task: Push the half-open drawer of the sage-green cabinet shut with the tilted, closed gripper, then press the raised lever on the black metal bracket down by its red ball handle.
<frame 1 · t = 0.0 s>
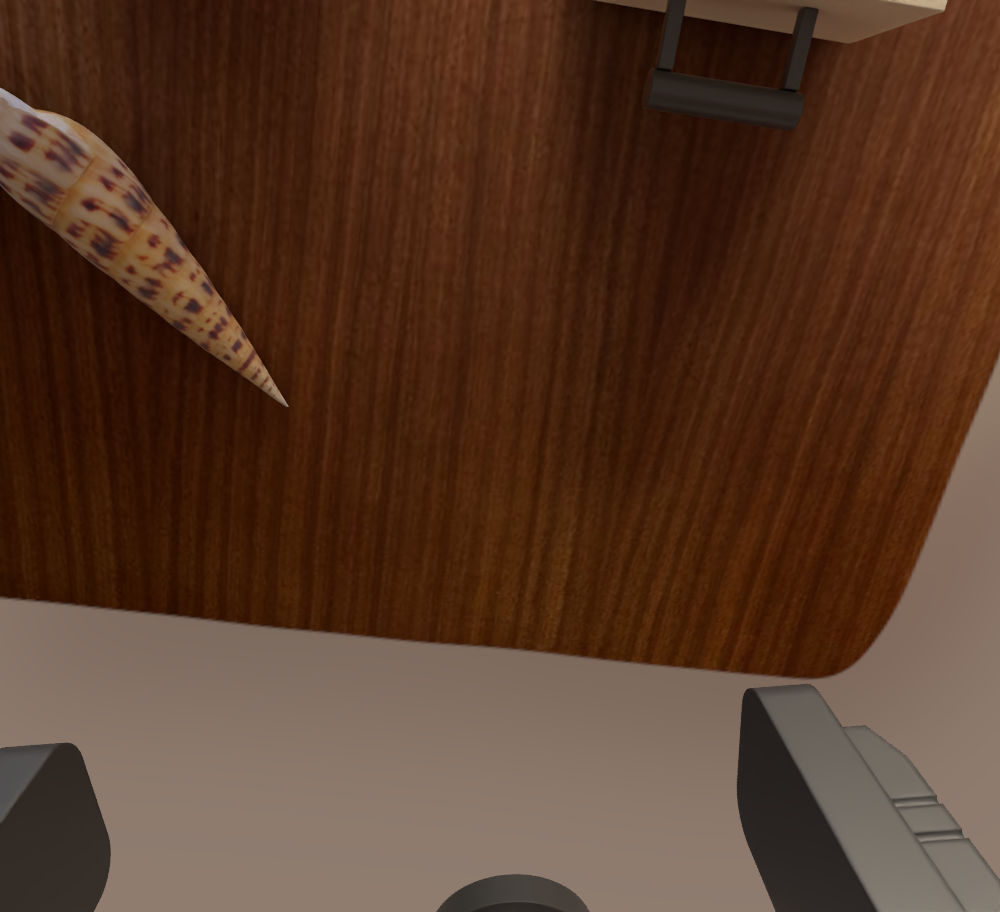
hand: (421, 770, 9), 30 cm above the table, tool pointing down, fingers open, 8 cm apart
seashell: (160, 256, 36), on the table
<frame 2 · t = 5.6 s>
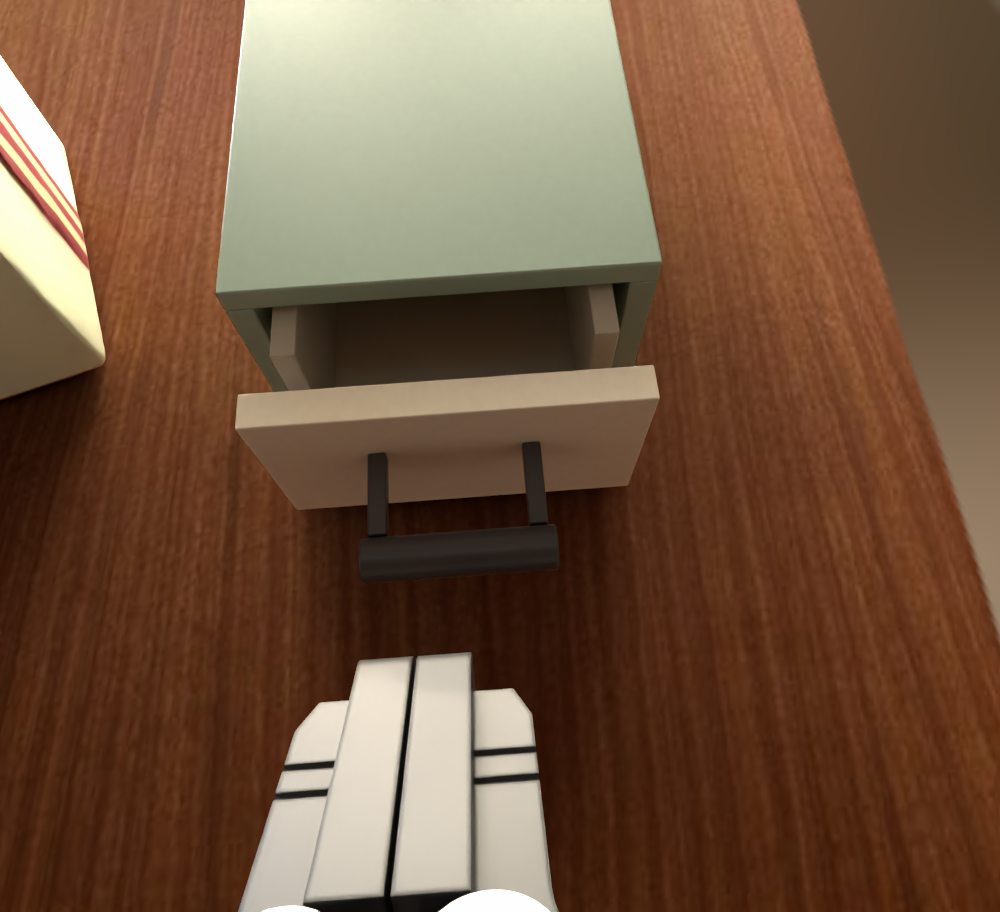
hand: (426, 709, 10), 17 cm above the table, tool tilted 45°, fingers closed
drawer: (448, 309, 28), point 4 cm above the table, slide at 3.0 cm
cabinet: (449, 242, 35), on the table
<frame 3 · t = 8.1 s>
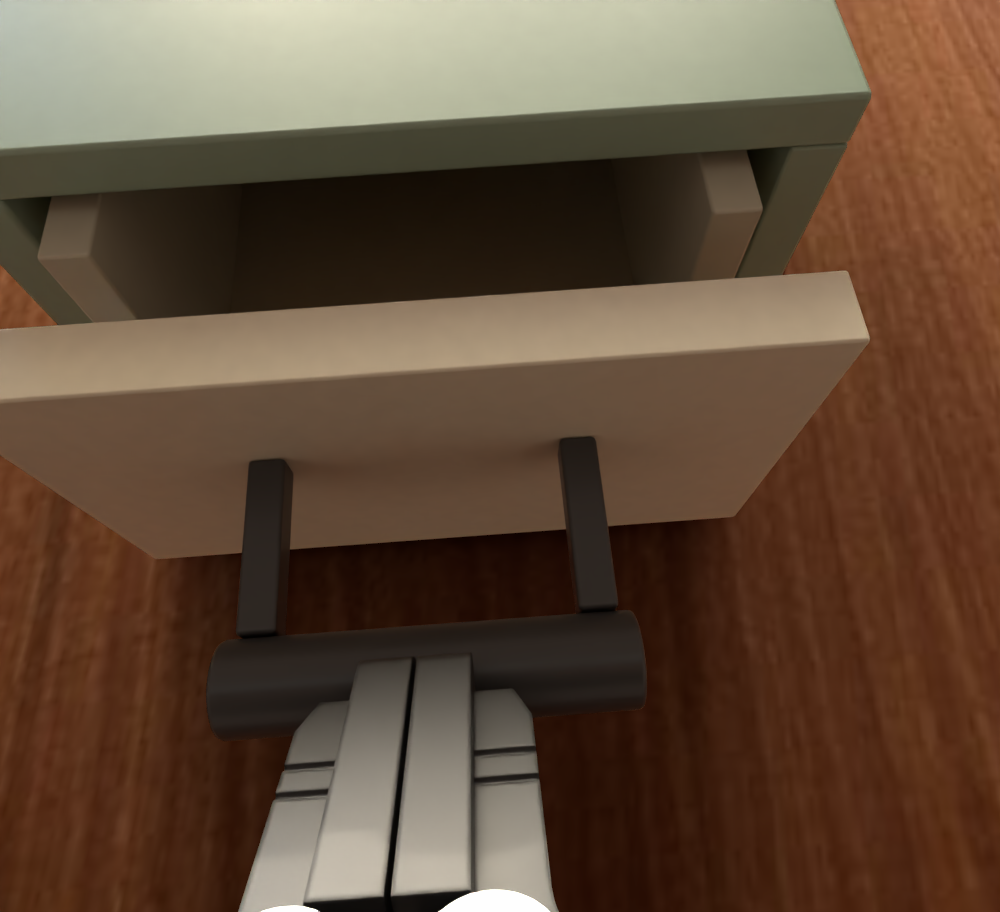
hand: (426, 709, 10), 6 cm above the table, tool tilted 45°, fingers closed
drawer: (420, 204, 16), point 4 cm above the table, slide at 2.3 cm, touching gripper
cabinet: (432, 153, 22), on the table
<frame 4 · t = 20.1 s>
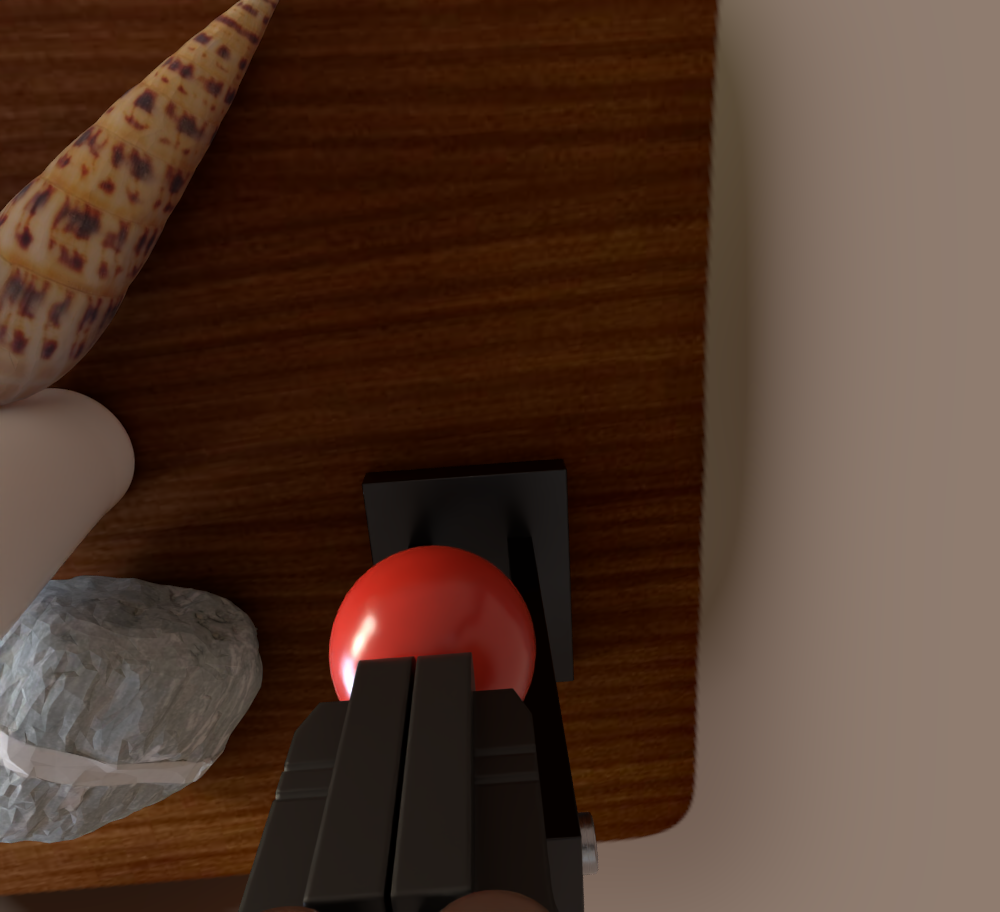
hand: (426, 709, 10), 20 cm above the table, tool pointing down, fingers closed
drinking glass: (73, 447, 30), on the table
decorative stone: (118, 668, 33), on the table
bracket: (473, 573, 32), on the table
lever: (459, 771, 15), point 16 cm above the table, hinge at 25.0°, touching gripper
seashell: (149, 188, 26), on the table
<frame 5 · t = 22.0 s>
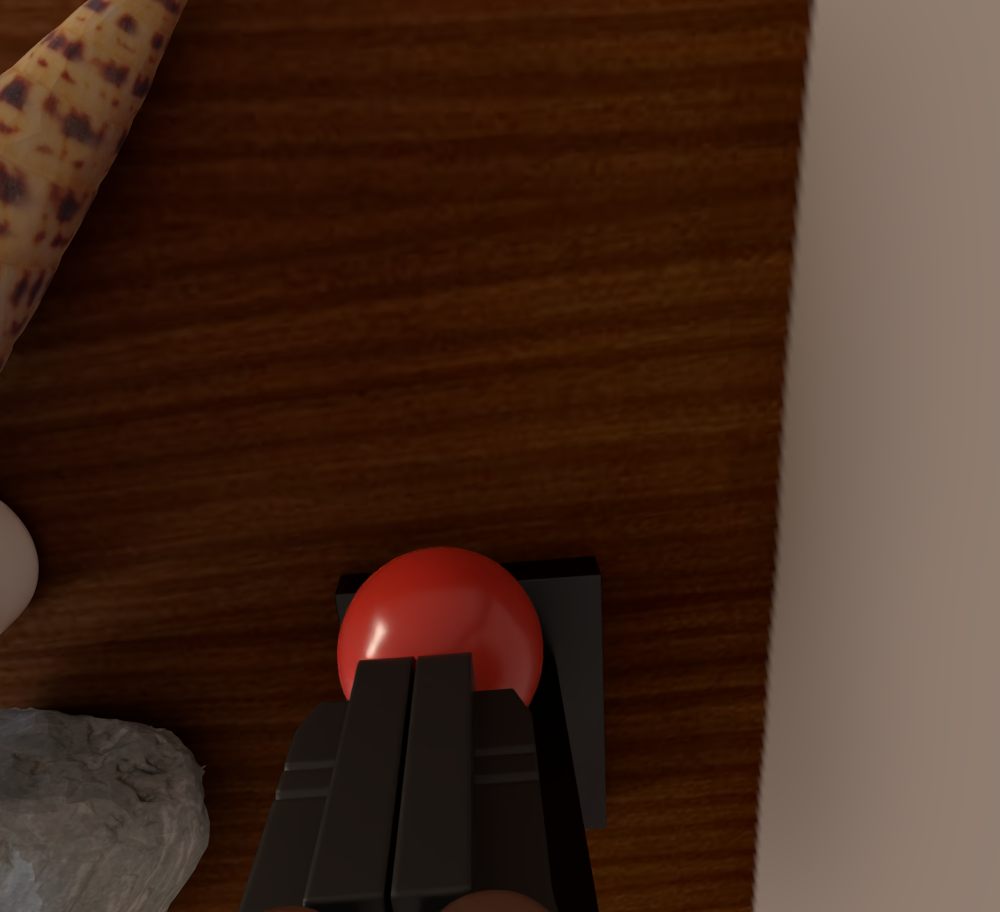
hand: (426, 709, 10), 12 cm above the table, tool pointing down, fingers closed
decorative stone: (33, 809, 26), on the table
bracket: (480, 696, 25), on the table
seashell: (43, 213, 20), on the table
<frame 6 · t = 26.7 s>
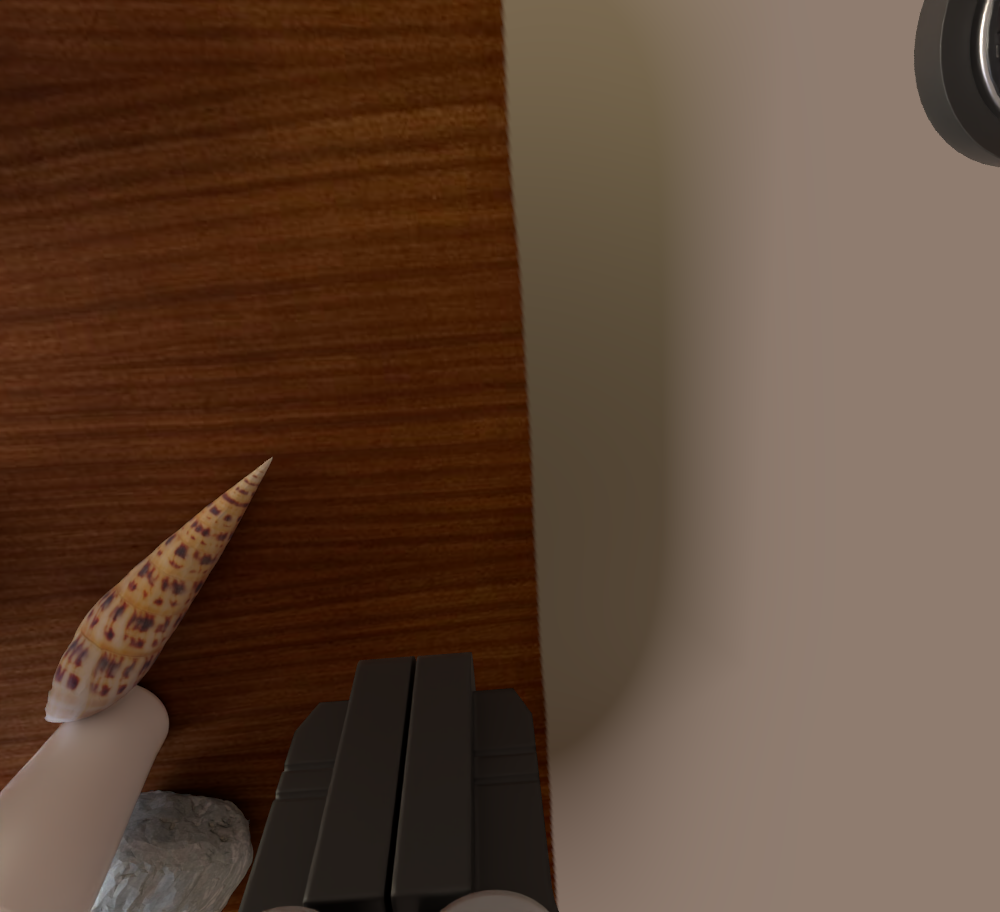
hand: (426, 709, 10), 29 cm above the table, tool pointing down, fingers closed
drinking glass: (128, 711, 45), on the table
decorative stone: (154, 842, 49), on the table
seashell: (180, 569, 42), on the table
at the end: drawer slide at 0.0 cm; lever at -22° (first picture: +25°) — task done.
